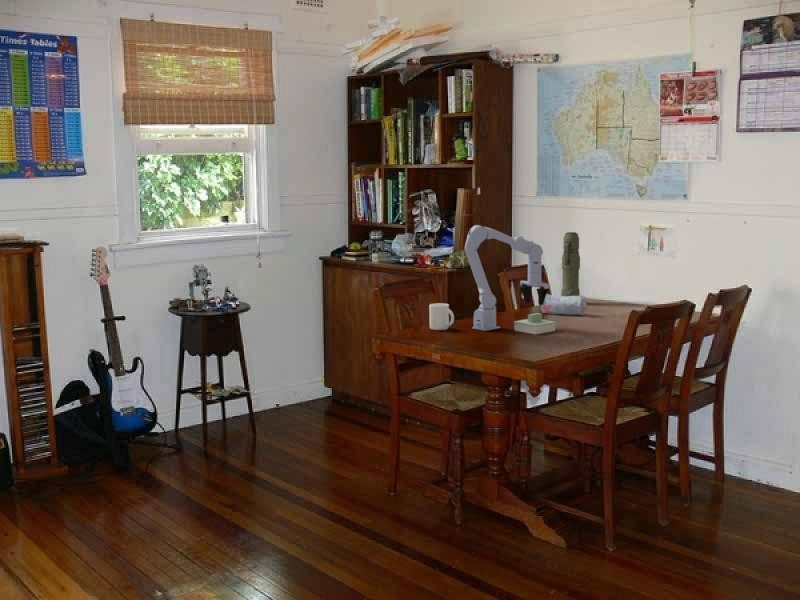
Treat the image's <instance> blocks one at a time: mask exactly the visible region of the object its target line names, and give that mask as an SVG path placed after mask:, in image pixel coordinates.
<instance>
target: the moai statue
mask: <svg viewBox="0 0 800 600" xmlns="http://www.w3.org/2000/svg"><path fill="white" fill-rule="evenodd" d="M562 242H563V243H562V244H563V245H562V246H563V247H562V248H563V251H562V257H561V269H562V287H561V293H560V294H561V295H560V296H581V294H580V292H581V291H580V287H579V283H580V281H579V280H580V269H581V257H580V256H581V255H580V250H579V249H580V237H579V234H578V233H577V232H575V231H574V232H573V231H570V232H569V231H568V232H565V234H564V236H563V240H562Z"/></svg>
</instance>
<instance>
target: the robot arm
mask: <svg viewBox="0 0 800 600" xmlns="http://www.w3.org/2000/svg"><path fill="white" fill-rule="evenodd" d="M486 239H487V240H492V239H495V240H497V241H500V242H503V243H505V244H508V245H510V247H511V249H512V250H514V251H517V252H520V253H521V254H524V255H528V258H527V259H528V261H527V280H520V281H519V283H520V286H519V289H520V291H521V293H522V295H523V298H524V302H525V303H524V304H528V303H529V304H530V302H531V292H532V289H533V288H536V292H537V297H538V299H537V300H538V301H537V302H538V306H540V305H543V303H544V299H545V296H546V294H548V292H549V290H550V283H546V282H543V281H542V256H543V255H544V250H543V248H542V246H541V245H540V244H537V243H536V242H534V241H533V240H527V239H525V238H524V236H521V235H520V236H515V237H512V236H509V235H507V234H506V233H503V232H501V231H499V230H497V229H493V228H491V227H487V226H482V225H480V224H475V225H473V226H472V227H471V228H470V229H469V231H468V232H467V237H466V240H465V245H464V251H465V254H466V257H467V260H468V263H469V266H470V269H471V271H472V275H473V278H474V280H475V283H476V285H477V290H478V293H479V295H478V300H479V302H480V304H479V306H478V308H477V309H476V310H474V312H473V326H472V327H471V329H473V330H474V329H475V330H479V331H483V332H487V331H491V330H496V329H500V328H501V326H497V306H496V305H497V298H496V296H495V295H494V294H493V292H492V291H491V288H490V285H489V282H488V279H487V277H486V273H485V271H484V268H483V266H482V261H481V258H480V256H479V254H478V249H479V247H480V245H481V243H483V242H484V241H485V240H486Z"/></svg>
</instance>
